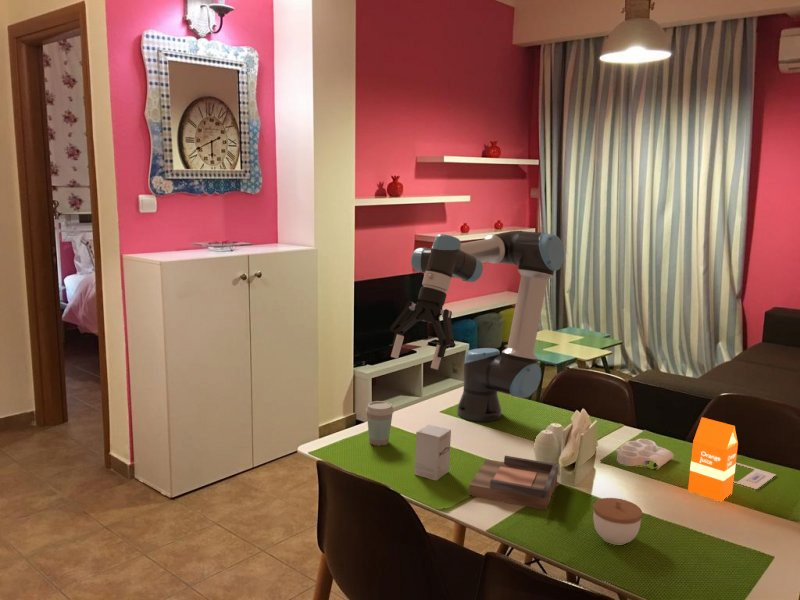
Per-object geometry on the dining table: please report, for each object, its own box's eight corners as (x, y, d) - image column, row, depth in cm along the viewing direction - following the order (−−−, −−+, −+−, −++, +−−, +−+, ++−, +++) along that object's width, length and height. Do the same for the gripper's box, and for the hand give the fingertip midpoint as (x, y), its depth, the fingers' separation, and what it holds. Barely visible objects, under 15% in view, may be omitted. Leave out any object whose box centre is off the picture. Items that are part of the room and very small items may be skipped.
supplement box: (437, 481, 192) (438, 437, 189) (413, 474, 196) (415, 431, 193) (450, 472, 198) (451, 429, 196) (426, 465, 202) (428, 423, 200)
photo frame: (756, 488, 192) (691, 467, 204) (756, 492, 192) (690, 470, 205) (776, 473, 202) (712, 454, 214) (775, 477, 202) (712, 458, 215)
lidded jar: (614, 555, 157) (617, 516, 155) (581, 533, 166) (584, 496, 165) (649, 545, 162) (653, 506, 160) (615, 524, 171) (618, 487, 170)
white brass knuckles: (653, 476, 200) (604, 461, 210) (677, 458, 214) (630, 444, 223) (654, 464, 200) (605, 450, 209) (678, 447, 213) (631, 434, 223)
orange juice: (699, 483, 196) (707, 413, 192) (732, 494, 189) (741, 422, 186) (687, 491, 190) (695, 420, 187) (720, 502, 184) (729, 429, 180)
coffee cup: (394, 438, 222) (395, 401, 220) (391, 448, 214) (392, 410, 211) (367, 436, 223) (367, 399, 221) (363, 446, 214) (363, 408, 212)
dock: (485, 469, 201) (486, 452, 200) (557, 481, 194) (558, 464, 193) (468, 495, 184) (469, 477, 183) (546, 510, 177) (547, 491, 176)
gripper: (391, 279, 202) (371, 351, 200) (466, 293, 187) (444, 371, 186) (405, 285, 208) (385, 355, 206) (478, 300, 193) (458, 375, 192)
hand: (413, 363), depth 196 cm, fingers open, 13 cm apart
